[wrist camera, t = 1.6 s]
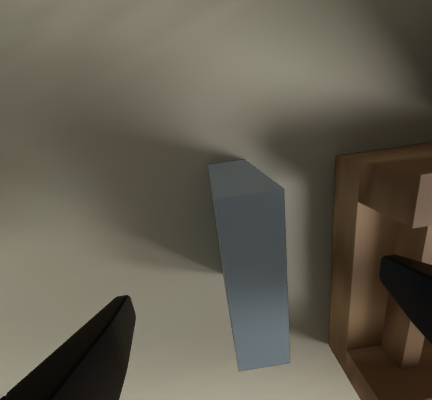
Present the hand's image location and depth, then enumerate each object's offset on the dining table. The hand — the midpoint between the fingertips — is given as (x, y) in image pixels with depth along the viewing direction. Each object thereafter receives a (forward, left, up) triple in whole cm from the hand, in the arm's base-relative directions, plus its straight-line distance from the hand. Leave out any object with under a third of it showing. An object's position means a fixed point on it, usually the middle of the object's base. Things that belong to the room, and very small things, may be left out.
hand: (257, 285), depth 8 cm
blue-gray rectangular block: (0, 0, -6) cm, 6 cm away
